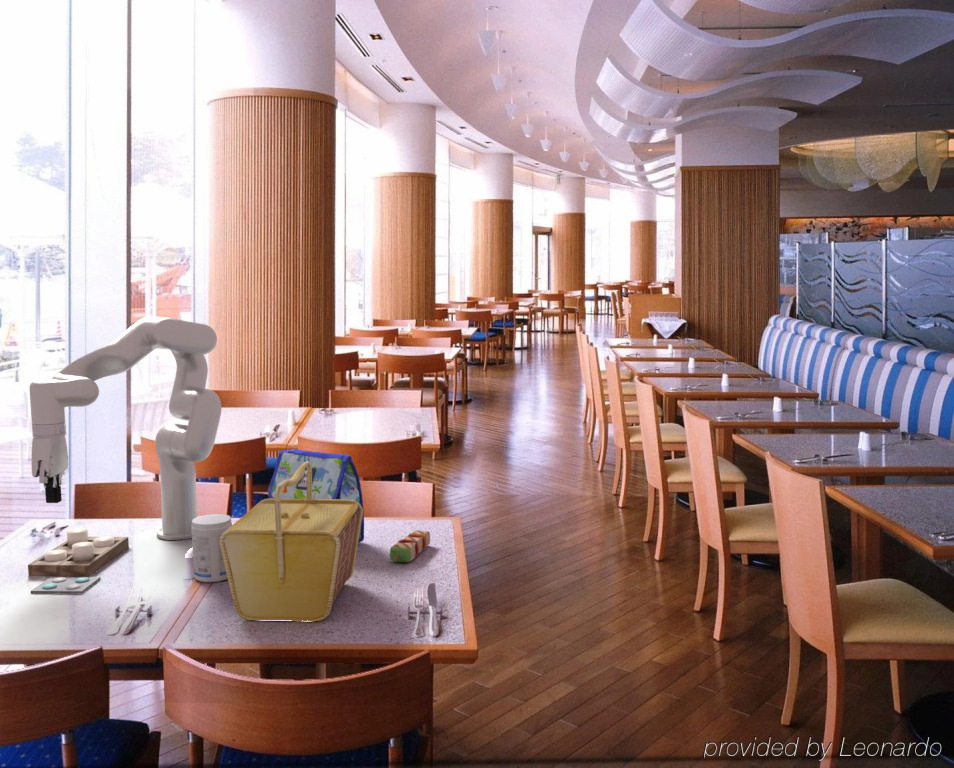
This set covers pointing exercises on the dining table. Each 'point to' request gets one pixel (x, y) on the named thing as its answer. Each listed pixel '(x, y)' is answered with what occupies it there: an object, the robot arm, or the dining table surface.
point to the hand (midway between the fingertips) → (53, 502)
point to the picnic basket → (291, 554)
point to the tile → (66, 585)
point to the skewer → (409, 546)
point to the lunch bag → (318, 477)
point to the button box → (77, 567)
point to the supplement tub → (209, 547)
